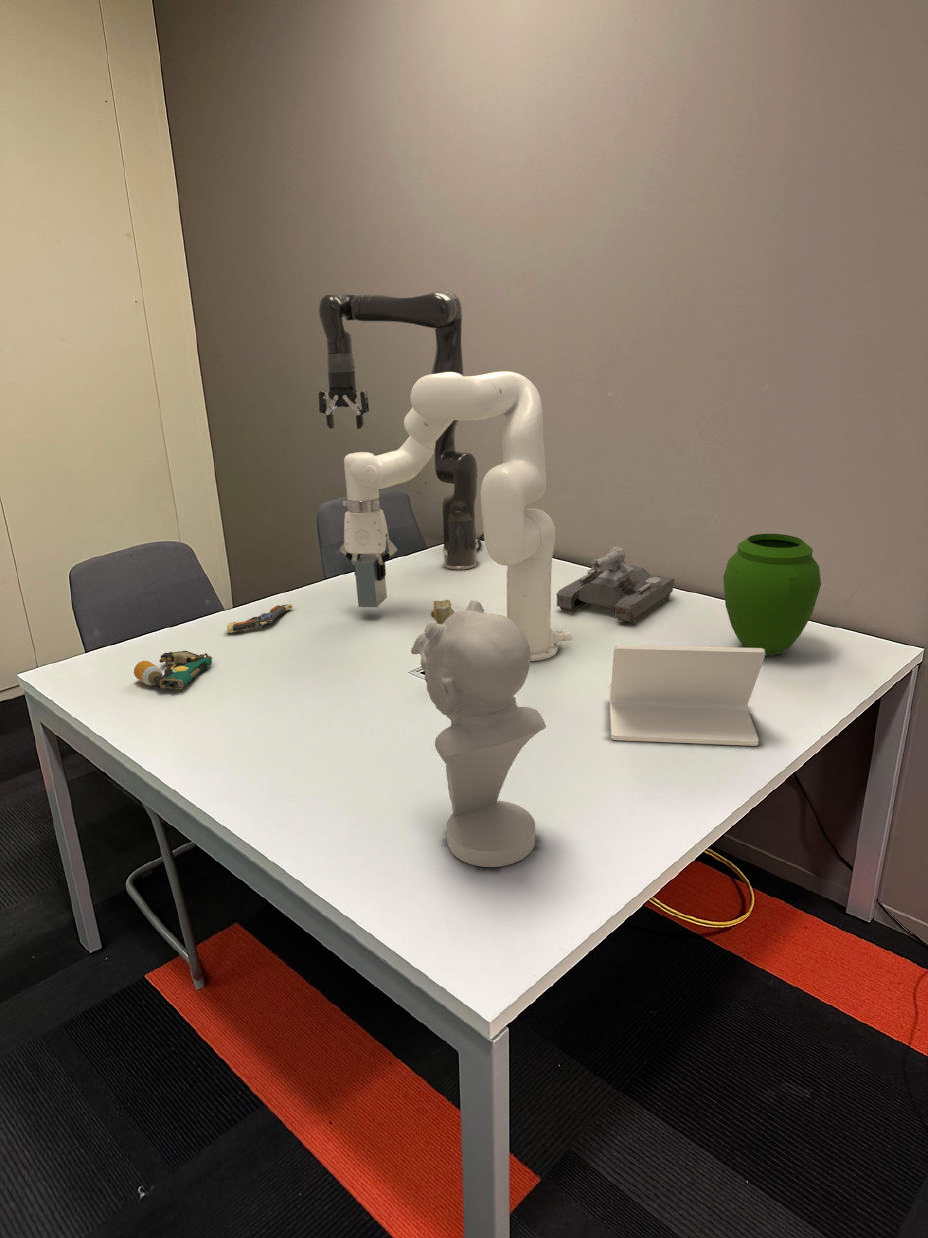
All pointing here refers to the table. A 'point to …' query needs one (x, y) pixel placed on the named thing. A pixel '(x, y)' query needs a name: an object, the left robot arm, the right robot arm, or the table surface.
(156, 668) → the green toy blaster
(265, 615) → the toy gun
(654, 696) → the tablet stand
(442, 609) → the sculpture
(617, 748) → the table surface
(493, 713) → the bust sculpture
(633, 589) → the toy
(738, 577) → the vase
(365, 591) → the brick
